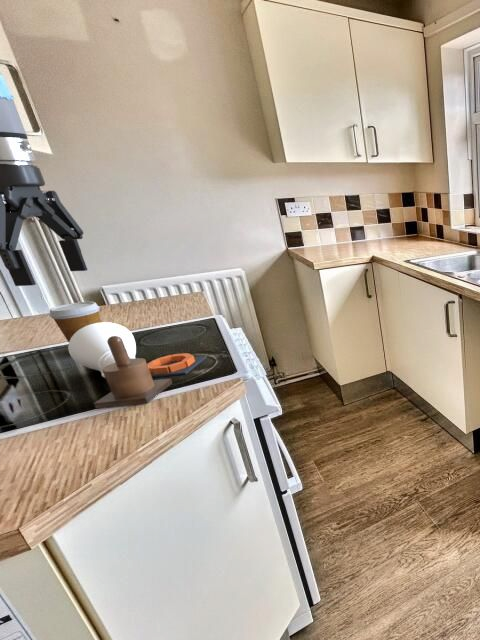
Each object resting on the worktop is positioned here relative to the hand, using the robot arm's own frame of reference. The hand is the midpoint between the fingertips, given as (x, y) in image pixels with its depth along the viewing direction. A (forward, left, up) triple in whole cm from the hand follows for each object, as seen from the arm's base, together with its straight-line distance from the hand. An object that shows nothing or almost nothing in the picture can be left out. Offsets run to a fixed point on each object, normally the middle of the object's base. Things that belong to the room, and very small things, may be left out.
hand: (54, 277), depth 85 cm
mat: (+13, +4, -24) cm, 27 cm away
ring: (+12, +4, -23) cm, 27 cm away
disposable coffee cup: (-17, +24, -24) cm, 38 cm away
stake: (+13, -10, -24) cm, 28 cm away
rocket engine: (+2, +2, -23) cm, 24 cm away
